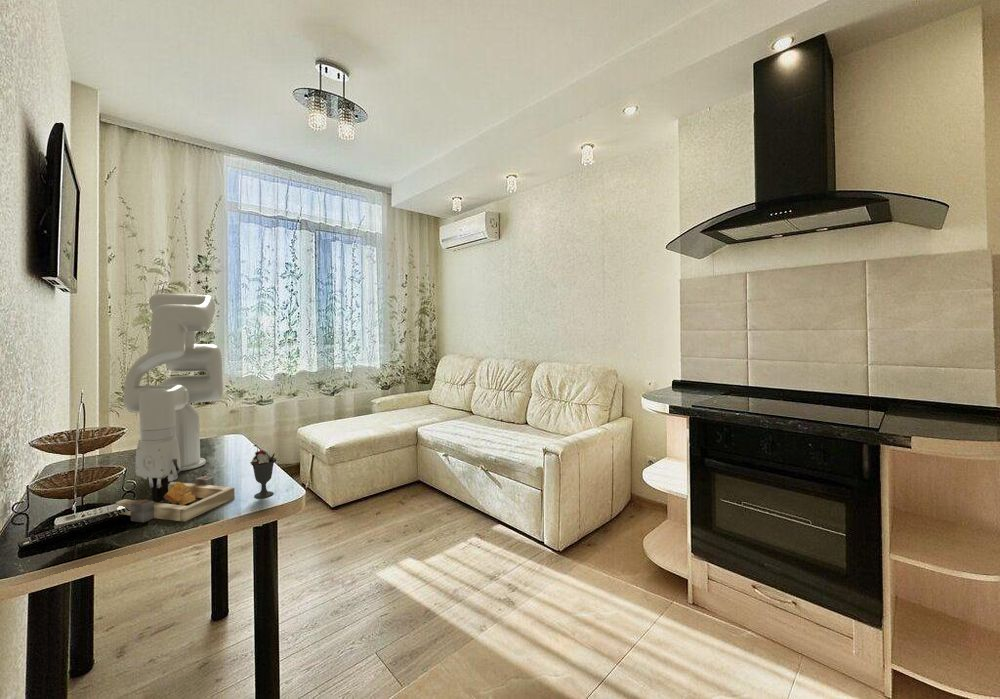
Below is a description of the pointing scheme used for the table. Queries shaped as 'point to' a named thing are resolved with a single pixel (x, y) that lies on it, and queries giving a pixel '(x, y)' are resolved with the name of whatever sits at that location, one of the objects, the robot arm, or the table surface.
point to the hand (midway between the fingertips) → (160, 500)
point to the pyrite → (179, 494)
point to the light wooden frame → (201, 489)
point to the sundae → (263, 471)
